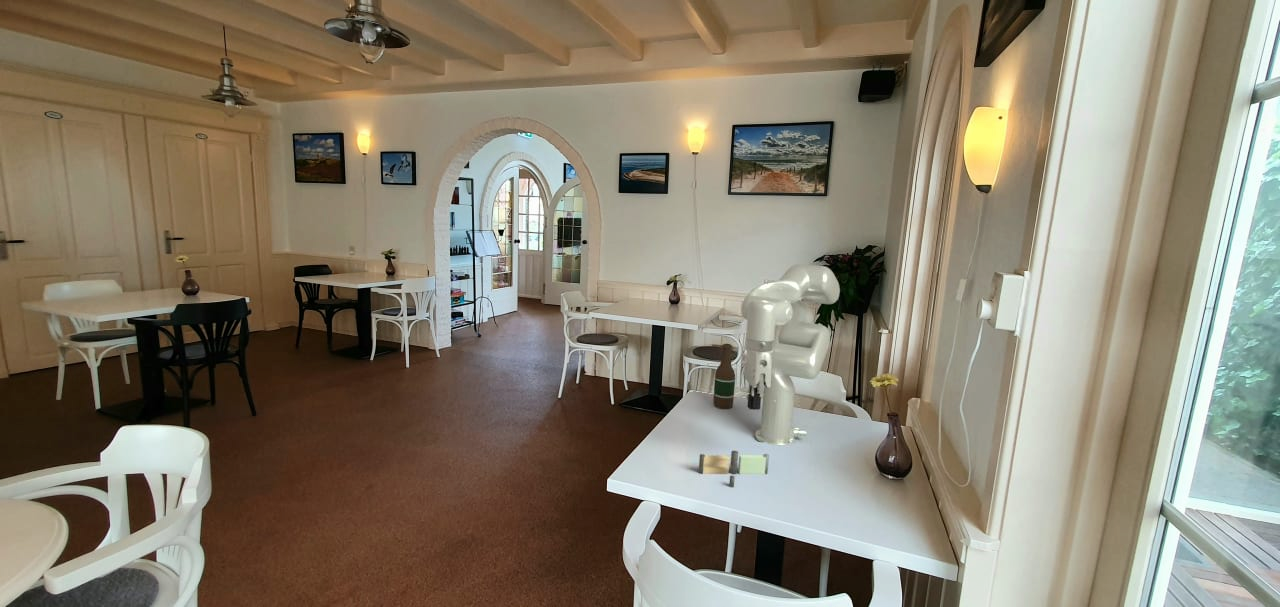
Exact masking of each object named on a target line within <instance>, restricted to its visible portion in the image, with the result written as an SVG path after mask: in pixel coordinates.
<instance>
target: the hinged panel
mask: <svg viewBox="0 0 1280 607" xmlns="http://www.w3.org/2000/svg"><path fill="white" fill-rule="evenodd" d="M738 458H739V459H738V467H737V472H738V473H739V474H740V475H767V474H768V472H769V462H770V461H769V459H770V454H768V453H764V454H739V455H738Z"/></svg>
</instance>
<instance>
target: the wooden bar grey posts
mask: <svg viewBox="0 0 1280 607" xmlns="http://www.w3.org/2000/svg"><path fill="white" fill-rule="evenodd" d="M738 458H739V451H738V450H732V451H731V454H730V457H729V455H713V454H712V455H709V454H708V455H705V454H704V453H701V454H699V459H698V460H699V462H698V474H699V475H700V474H701V475H728V474H731V475H730V476H729V487H730V488H734V487H735V480H736V479H735V478H736V477H735V476H734V475H737V472H738V462H739V459H738Z"/></svg>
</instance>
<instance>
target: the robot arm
mask: <svg viewBox="0 0 1280 607" xmlns="http://www.w3.org/2000/svg"><path fill="white" fill-rule="evenodd" d="M840 291H841V290H840V284H839V281H838V279H837V277H836V276H835V274H834V272H833V271H832V269H830V268H829V267H828V266H824V265H813V264H803V263H802V264H800V263H798V264H794V265H791V266H790V267H789V268H788V269H787V270H786V271H785V273H783V275H782V276H781V277H780V278H779V279H778V280H774V281H771V282H768V283H764V284H760V285H759V286H758V285H757V286H756V287H754V288H753V289H751V290H750V291H749V293H748V294H747V295H746V296H745V298H744V299H743V301H742V303H741V308H740V311H741V315H742V317H743V318H744V319H745V320H746V331H745V333H746V334H745V344H744V345H745V346H744V349H745V351H747V352H746V358H745V363H744V364H745V365H744V379H745V380H746V382H747V383H748V391H747V392H748V396H747V408H748V410H757V411H759V410H760V409H761V423H760V428H759V429H757V430H756V431H755V433H754V437H755V439H756V440H757V441H758V442H759V443H765V444H768V445H769V444H770V445H774V446H790V445H793V444H795V443H796V437H797V436H800V437H801V436H802V437H805V436H806V435H807V430H806V429H800V427H797V426H796V427H793V426H792V425H793V416H794V415H793V413H794V404H795V395H796V394H795V393H796V390H795V388H796V387H795V384H794V382H793V380H792V378H791V377H795V378H799V379H805V380H815V379H816V378H817V377H818V375H819V374H820V372H821V370H822V367H823V364H824V362H825V359H826V356H827V353H828V351H829V348H830V343H831V333H830V330H829V329H828V327H826V326H825V325H823V324H818V323H813V321H814V315H813V312H812V310H811V309H810V307H809V306H808V305H807V304H806V303H805V302H807V303H816V304H824V305H832V304H835V303H836V302H837V301H838V300H839V297H840V293H841V292H840ZM776 326H781V327H780V330H779V333H778V338H777V339H778V340H777V341H778V342H774V341H775V340H774V339H775V328H776ZM762 396H763V397H762ZM761 402H762V408H761Z"/></svg>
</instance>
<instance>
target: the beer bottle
mask: <svg viewBox="0 0 1280 607" xmlns="http://www.w3.org/2000/svg"><path fill="white" fill-rule="evenodd" d="M721 347H722V351H721V360H720V364H719V365H718V367H717V368H716V370H715V373H714V387H713V400H712V401H713V406H715V407H714V408H718V409H721V410H728V409H733V406H734V398H735V386H736V385H735V384H736V374H735V370H734V368H733V366H732V349H733V346H732V344H730V343H724V344H722V346H721Z"/></svg>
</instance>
